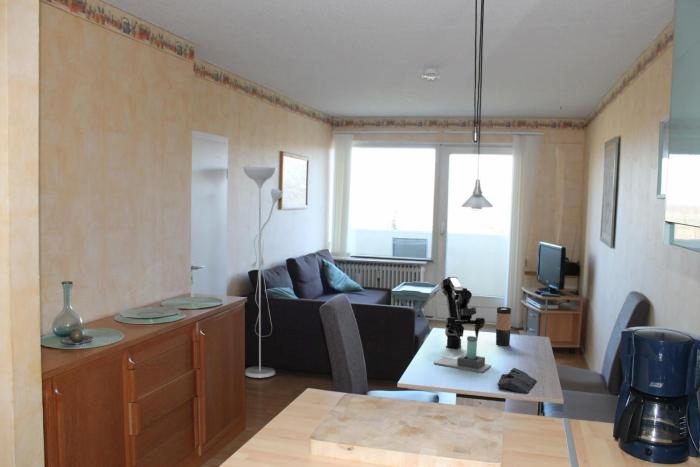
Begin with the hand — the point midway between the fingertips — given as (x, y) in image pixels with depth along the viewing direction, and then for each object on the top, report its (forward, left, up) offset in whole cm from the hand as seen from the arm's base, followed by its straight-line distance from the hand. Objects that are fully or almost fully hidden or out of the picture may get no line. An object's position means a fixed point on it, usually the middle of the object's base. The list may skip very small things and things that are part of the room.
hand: (467, 337), depth 281 cm
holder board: (0, -7, -12) cm, 14 cm away
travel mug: (+4, +45, -12) cm, 47 cm away
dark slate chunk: (+29, -21, -13) cm, 38 cm away
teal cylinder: (+4, -6, -11) cm, 13 cm away
